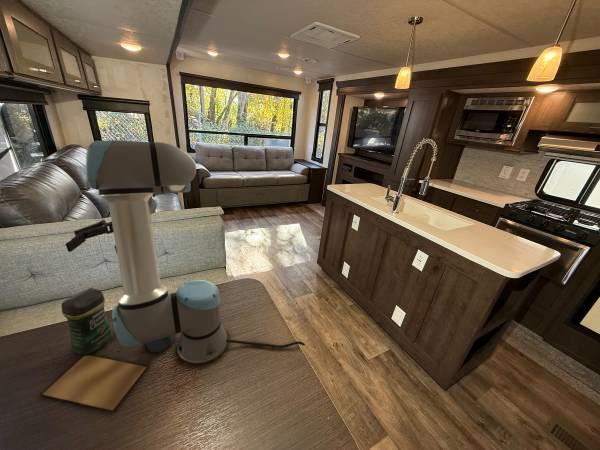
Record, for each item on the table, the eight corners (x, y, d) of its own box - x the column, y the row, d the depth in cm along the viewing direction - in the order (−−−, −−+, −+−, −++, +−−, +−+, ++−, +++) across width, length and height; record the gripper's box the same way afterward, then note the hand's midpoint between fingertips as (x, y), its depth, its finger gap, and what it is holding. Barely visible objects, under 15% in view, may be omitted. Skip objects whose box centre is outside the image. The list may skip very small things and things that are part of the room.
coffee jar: (88, 359, 73) (74, 308, 67) (67, 352, 75) (51, 302, 68) (118, 335, 82) (108, 288, 76) (99, 329, 84) (87, 283, 77)
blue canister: (178, 335, 85) (174, 310, 80) (163, 354, 78) (159, 327, 73) (157, 331, 85) (152, 306, 81) (141, 349, 78) (135, 323, 74)
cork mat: (146, 367, 73) (146, 367, 73) (113, 411, 62) (112, 410, 62) (85, 355, 75) (85, 354, 75) (42, 395, 64) (42, 394, 64)
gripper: (166, 228, 96) (138, 260, 77) (97, 225, 93) (51, 257, 75) (163, 211, 93) (134, 240, 74) (92, 207, 90) (42, 236, 71)
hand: (92, 249), depth 74 cm, fingers open, 13 cm apart
